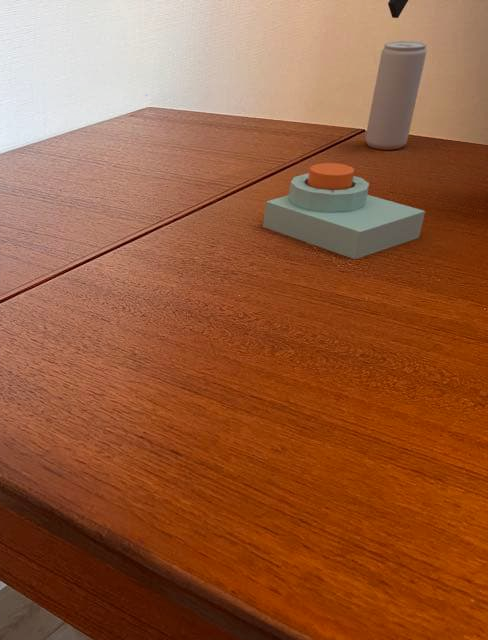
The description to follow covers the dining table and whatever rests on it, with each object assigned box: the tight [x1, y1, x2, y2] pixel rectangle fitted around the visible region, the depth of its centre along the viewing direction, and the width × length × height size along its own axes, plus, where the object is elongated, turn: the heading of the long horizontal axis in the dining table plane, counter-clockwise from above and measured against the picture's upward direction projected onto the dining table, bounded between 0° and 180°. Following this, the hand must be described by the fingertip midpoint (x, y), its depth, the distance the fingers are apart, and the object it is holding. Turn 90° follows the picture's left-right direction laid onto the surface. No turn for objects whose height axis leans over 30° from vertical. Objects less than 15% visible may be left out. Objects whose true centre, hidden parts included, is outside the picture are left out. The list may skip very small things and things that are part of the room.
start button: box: [307, 162, 355, 190], centre depth 83 cm, size 4×4×2 cm
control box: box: [262, 172, 426, 260], centre depth 83 cm, size 11×9×4 cm
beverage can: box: [364, 40, 428, 151], centre depth 105 cm, size 5×5×12 cm
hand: (446, 14), depth 106 cm, fingers open, 13 cm apart
